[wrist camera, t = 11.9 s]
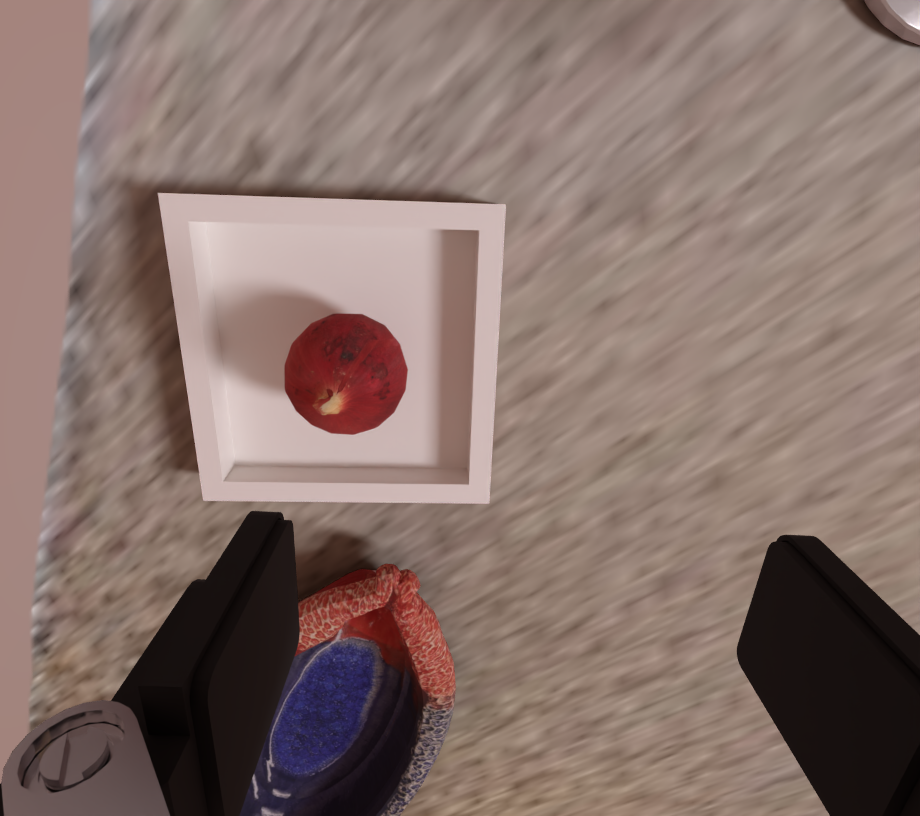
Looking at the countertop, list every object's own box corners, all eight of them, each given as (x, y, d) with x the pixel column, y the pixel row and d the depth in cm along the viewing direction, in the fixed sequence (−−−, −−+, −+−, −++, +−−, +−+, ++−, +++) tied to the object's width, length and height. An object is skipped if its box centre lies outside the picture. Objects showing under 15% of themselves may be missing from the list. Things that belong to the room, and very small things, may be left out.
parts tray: (186, 194, 28) (157, 192, 25) (499, 204, 29) (505, 204, 26) (223, 475, 33) (203, 500, 31) (485, 478, 34) (489, 503, 31)
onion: (328, 282, 29) (288, 310, 21) (428, 330, 30) (423, 372, 22) (289, 378, 30) (239, 435, 23) (385, 420, 31) (367, 487, 24)
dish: (162, 803, 43) (129, 875, 39) (309, 496, 34) (289, 542, 30) (344, 856, 46) (333, 929, 42) (523, 585, 37) (535, 640, 33)
